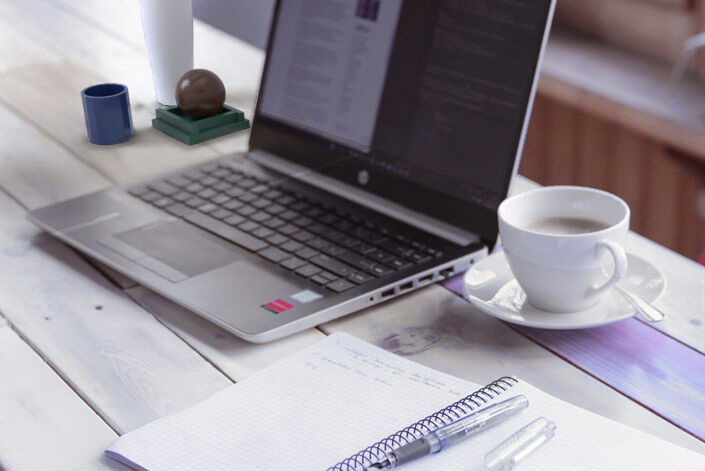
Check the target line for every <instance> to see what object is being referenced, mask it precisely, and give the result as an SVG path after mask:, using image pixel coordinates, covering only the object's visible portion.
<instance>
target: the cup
mask: <svg viewBox="0 0 705 471" xmlns="http://www.w3.org/2000/svg"><path fill="white" fill-rule="evenodd" d="M80 98H81V102H82V103H81V104H82V109H83V115H84V116H83V117H84V122H85V128H86V134H87V135H86V136H87V140H88V141H89V142H90V143H92V144H95V145H103V146H105V145H115V144H116V145H117V144H121V143H124V142H127V141H129V140H130V139H132V138H133V137H134V135H135V129H134V122H133V121H134V120H133V114H132V107H131V100H130V93H129V87H128V86H127V85H125V84H122V83H117V82H106V83H105V82H104V83H97V84H93V85H89V86H87V87H85V88H83V89H82V90H81V91H80Z"/></svg>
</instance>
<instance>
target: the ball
mask: <svg viewBox="0 0 705 471" xmlns="http://www.w3.org/2000/svg"><path fill="white" fill-rule="evenodd" d="M174 96H175V101H176V104H177V106H178V108H179V109H180V110H181V112H182V113H183V114H185V115H186V116H188V117H189V118H192V119H195V120H202V119H205V118H209V117H212V116H215V115H217V114H218V113H219V112H220V111H221V109H222V108H223V106H224V104H226V99H227V91H226V86H225V83H224V82H223V81H222V78H220V76H218V74H216V73H215V72H213V71H212V70H209V69H206V68H194V69H193V70H190V71H188V72H186V73H185V74H183V75H182V76H181V77H180V79H179V80H178V82H177V84H176V87H175V92H174Z"/></svg>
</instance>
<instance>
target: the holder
mask: <svg viewBox="0 0 705 471" xmlns="http://www.w3.org/2000/svg"><path fill="white" fill-rule="evenodd" d="M154 113H155V118H152V119H151V127H153V128H155V129H157V130H159V131H161V132H163V133H165V134H166V135H168V136H171V137H173V138H174V139H177V140H178V141H181V142H182V143H184V144H185V145H188V146H191V145H194V144H198V143H201V142H205V141H208V140H212V139H215V138H219V137H221V136H224V135H228V134H231V133H235V132H238V131H241V130H245V129H248V128H251V121H250V119H249V118H247V117H245V111H242V110H240V109H238V108H236V107H233V106H231V105H229V104H227V103H224V106H223V108H222V109H221V111H220V112H219V113H218V114H217V115H215V116H212V117H209V118H205V119H202V120H195V119H192V118H189V117H188V116H186V115H185V114H183V113H182V112H181V110H180V109H179V108H178V106H177V105H176V106H169V107H165V108H162V107H157V108H154Z"/></svg>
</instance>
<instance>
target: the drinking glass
mask: <svg viewBox="0 0 705 471" xmlns="http://www.w3.org/2000/svg"><path fill="white" fill-rule="evenodd" d="M138 6H139V16H140V24H141V28H142V33H143V38H144V43H145V48H146V51H147V52H146V53H147V57H148V61H149V67H150V71H151V76H152V81H153V86H154V93H155V99H156V101H157V102H158V103H159V104H161V105H164V106H169V107H172V106H176V105H177V104H176V101H175V96H174V92H175V87H176V84H177V82H178V80H179V79H180V77H181V76H182V75H183V74H185V73H186V72H188V71H190V70H193V69H195V50H194V48H195V46H194V43H195V42H194V40H195V39H194V38H195V35H194V34H195V32H194V13H193V12H194V11H193V2H192V0H138Z"/></svg>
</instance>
